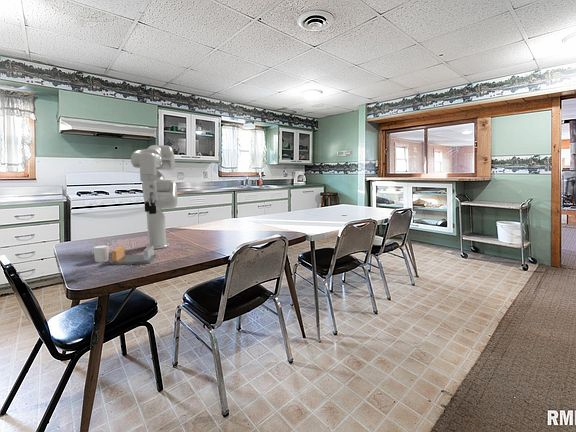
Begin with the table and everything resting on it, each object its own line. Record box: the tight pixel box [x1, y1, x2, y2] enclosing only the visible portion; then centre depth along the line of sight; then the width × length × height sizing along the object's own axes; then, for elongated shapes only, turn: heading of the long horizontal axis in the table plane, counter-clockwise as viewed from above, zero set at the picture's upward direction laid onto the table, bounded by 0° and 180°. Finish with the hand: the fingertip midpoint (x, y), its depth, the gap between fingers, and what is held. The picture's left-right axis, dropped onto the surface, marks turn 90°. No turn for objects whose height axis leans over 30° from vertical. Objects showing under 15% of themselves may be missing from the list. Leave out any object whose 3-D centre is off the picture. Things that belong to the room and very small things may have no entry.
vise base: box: [108, 246, 158, 266], centre depth 151 cm, size 18×12×6 cm, turn 98°
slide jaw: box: [111, 245, 126, 262], centre depth 150 cm, size 2×10×5 cm, turn 8°
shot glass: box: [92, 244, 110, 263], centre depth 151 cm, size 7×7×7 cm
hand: (150, 212), depth 154 cm, fingers open, 9 cm apart
